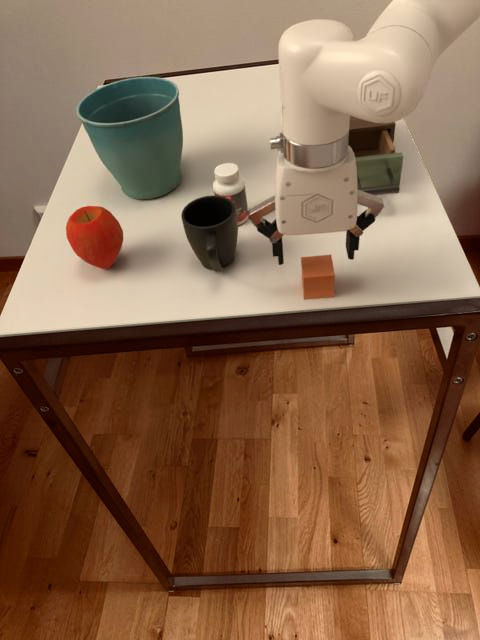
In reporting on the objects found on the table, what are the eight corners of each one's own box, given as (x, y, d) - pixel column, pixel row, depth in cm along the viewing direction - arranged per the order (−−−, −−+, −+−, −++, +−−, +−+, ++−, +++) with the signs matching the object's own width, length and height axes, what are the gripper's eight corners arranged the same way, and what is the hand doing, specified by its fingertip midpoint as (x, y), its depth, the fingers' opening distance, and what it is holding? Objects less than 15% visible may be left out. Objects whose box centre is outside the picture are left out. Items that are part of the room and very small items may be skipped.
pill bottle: (223, 230, 88) (214, 181, 80) (215, 213, 91) (206, 165, 84) (253, 222, 88) (246, 172, 81) (243, 205, 92) (237, 156, 85)
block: (330, 276, 77) (331, 254, 74) (334, 297, 74) (334, 275, 71) (301, 278, 77) (300, 256, 74) (303, 299, 74) (303, 277, 71)
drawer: (407, 210, 84) (412, 176, 79) (346, 216, 85) (348, 183, 80) (384, 151, 96) (387, 119, 92) (332, 157, 97) (332, 126, 93)
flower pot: (104, 170, 106) (74, 89, 94) (187, 150, 107) (169, 67, 95) (110, 219, 94) (77, 133, 81) (204, 196, 95) (186, 108, 83)
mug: (191, 296, 78) (178, 248, 71) (193, 245, 86) (182, 198, 79) (245, 289, 77) (237, 241, 70) (241, 240, 85) (234, 191, 78)
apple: (141, 252, 86) (123, 199, 78) (115, 286, 81) (93, 233, 73) (100, 244, 89) (78, 192, 81) (72, 276, 84) (46, 224, 76)
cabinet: (391, 164, 95) (395, 123, 89) (331, 171, 96) (331, 131, 90) (377, 129, 104) (380, 89, 98) (322, 135, 105) (322, 96, 99)
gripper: (240, 168, 57) (253, 278, 69) (398, 154, 55) (382, 269, 68) (240, 134, 62) (253, 243, 74) (385, 120, 60) (372, 234, 73)
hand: (314, 255), depth 71 cm, fingers open, 9 cm apart
